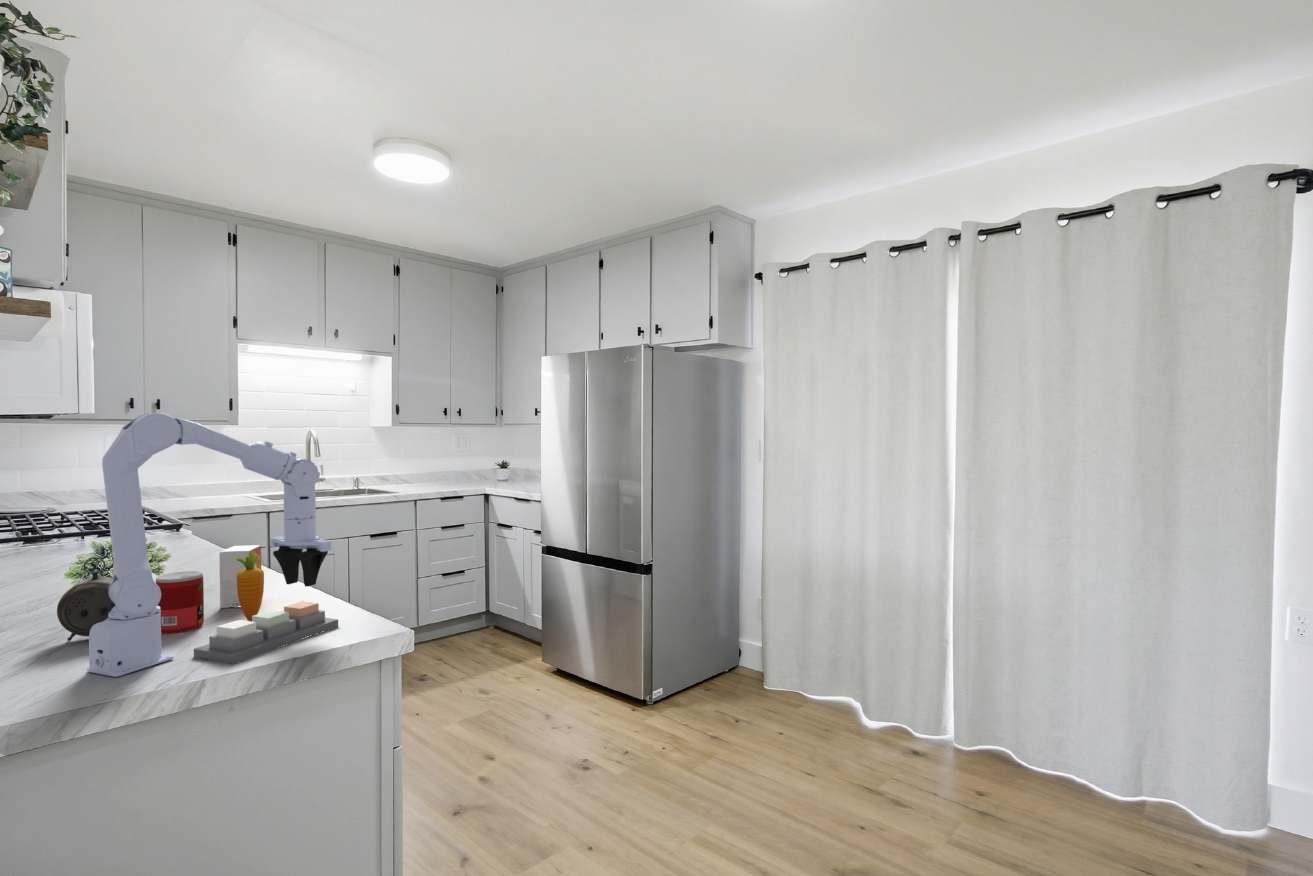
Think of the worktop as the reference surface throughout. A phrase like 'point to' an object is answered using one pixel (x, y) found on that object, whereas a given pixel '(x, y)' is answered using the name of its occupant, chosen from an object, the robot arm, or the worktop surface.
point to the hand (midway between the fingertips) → (301, 584)
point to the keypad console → (264, 639)
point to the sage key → (270, 618)
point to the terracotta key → (302, 609)
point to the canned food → (181, 601)
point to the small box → (234, 572)
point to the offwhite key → (236, 629)
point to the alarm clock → (85, 604)
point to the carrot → (250, 586)
